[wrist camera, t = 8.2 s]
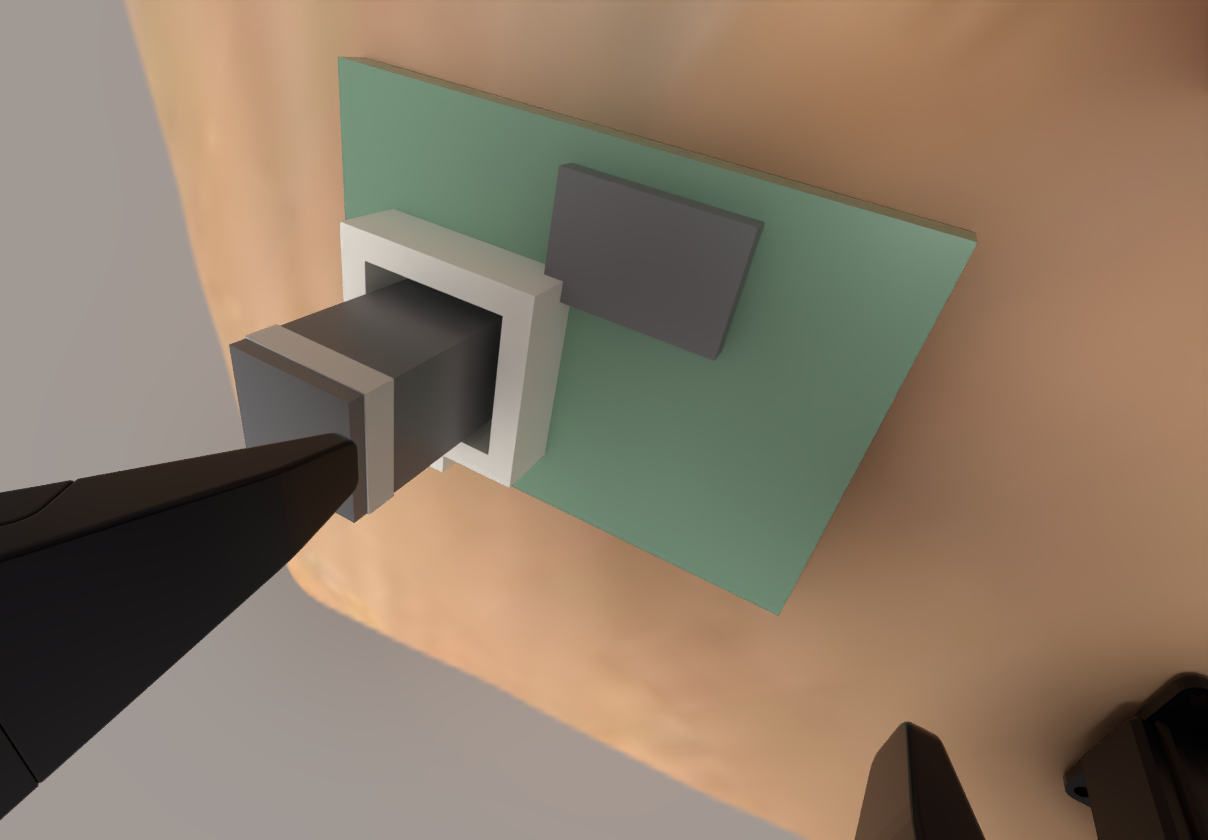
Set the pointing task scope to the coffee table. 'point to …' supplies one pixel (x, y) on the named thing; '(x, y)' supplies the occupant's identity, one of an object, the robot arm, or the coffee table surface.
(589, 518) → the circuit board
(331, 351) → the black plug
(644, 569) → the coffee table surface
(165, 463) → the robot arm
